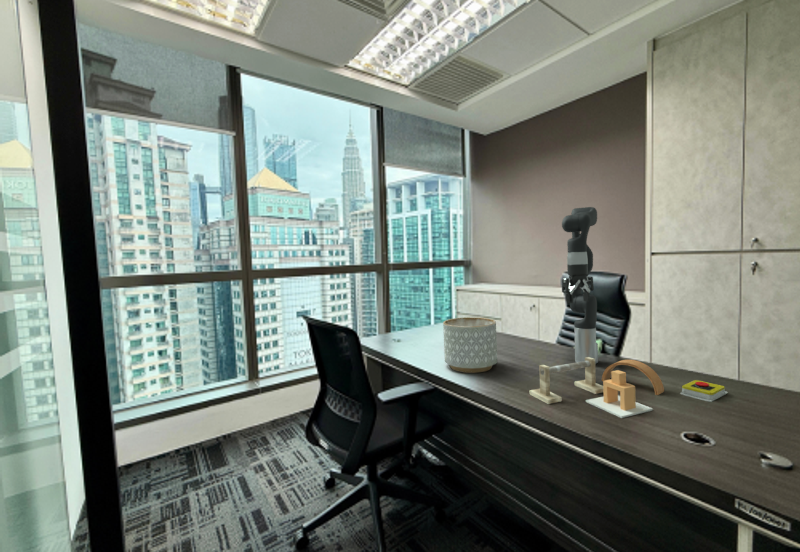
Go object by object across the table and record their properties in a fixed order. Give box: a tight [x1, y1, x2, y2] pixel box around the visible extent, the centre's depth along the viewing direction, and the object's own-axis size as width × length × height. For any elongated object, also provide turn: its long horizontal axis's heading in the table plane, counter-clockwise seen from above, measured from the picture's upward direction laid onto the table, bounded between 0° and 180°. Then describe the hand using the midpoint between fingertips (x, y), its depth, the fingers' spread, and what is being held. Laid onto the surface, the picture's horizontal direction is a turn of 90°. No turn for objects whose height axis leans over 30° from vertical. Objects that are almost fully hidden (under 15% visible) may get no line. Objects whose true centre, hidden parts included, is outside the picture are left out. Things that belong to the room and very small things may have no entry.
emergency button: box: [679, 379, 729, 403], centre depth 128 cm, size 9×4×15 cm
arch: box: [601, 359, 665, 396], centre depth 138 cm, size 6×20×10 cm, turn 33°
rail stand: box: [529, 357, 603, 405], centre depth 134 cm, size 28×10×12 cm, turn 109°
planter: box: [442, 316, 498, 374], centre depth 172 cm, size 26×26×22 cm
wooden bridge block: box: [602, 369, 637, 411], centre depth 120 cm, size 5×8×12 cm, turn 19°
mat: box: [585, 394, 654, 419], centre depth 121 cm, size 14×14×1 cm
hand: (578, 302), depth 145 cm, fingers open, 8 cm apart
